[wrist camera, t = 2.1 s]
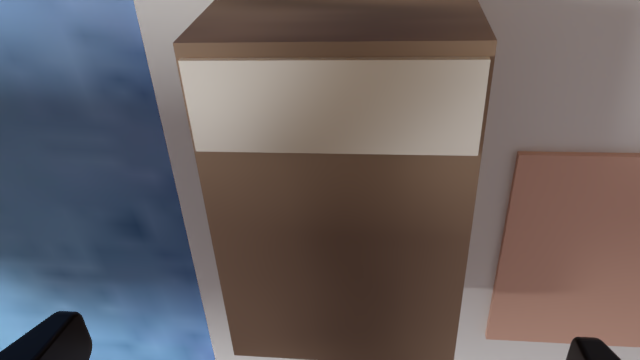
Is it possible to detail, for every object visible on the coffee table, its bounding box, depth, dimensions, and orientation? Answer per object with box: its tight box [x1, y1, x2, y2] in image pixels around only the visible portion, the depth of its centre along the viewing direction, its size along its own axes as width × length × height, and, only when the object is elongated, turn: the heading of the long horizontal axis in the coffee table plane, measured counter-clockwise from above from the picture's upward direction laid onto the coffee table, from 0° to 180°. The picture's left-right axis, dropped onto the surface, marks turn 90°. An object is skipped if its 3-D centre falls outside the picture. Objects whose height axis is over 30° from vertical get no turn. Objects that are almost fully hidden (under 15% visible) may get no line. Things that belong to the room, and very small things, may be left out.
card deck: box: [173, 0, 497, 360], centre depth 14 cm, size 6×9×3 cm, turn 2°
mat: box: [134, 0, 640, 360], centre depth 16 cm, size 21×15×1 cm
